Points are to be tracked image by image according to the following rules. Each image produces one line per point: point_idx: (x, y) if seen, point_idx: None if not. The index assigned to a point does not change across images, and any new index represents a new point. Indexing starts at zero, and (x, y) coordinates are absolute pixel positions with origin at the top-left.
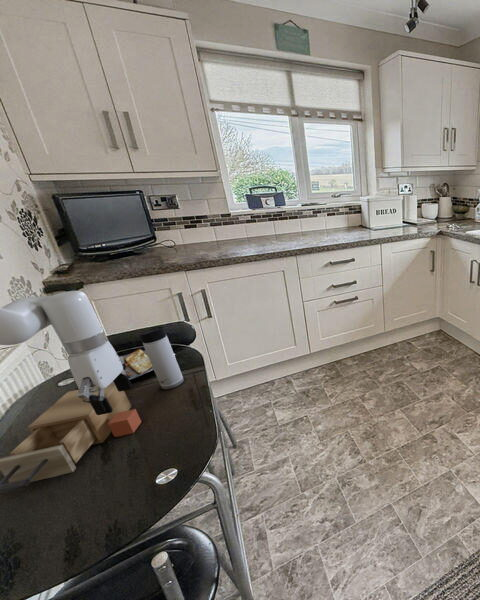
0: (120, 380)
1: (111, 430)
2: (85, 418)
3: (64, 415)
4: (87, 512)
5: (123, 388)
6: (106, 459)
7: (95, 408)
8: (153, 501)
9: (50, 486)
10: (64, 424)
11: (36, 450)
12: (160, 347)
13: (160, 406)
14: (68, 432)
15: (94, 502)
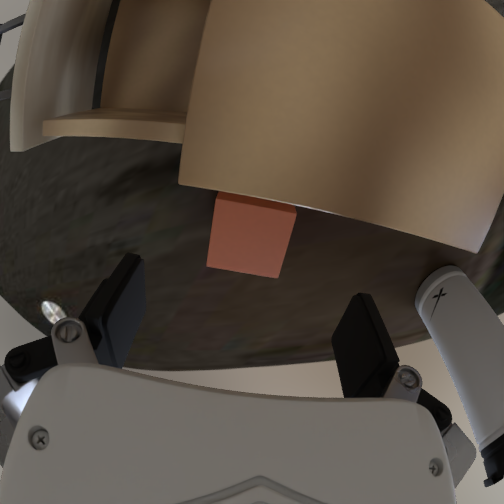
0: (356, 374)
1: None
2: None
3: (268, 24)
4: (2, 214)
5: (345, 326)
6: (115, 188)
7: (93, 298)
8: (20, 300)
9: None
10: None
11: (29, 57)
12: (473, 425)
13: (334, 280)
14: None
15: (14, 217)
